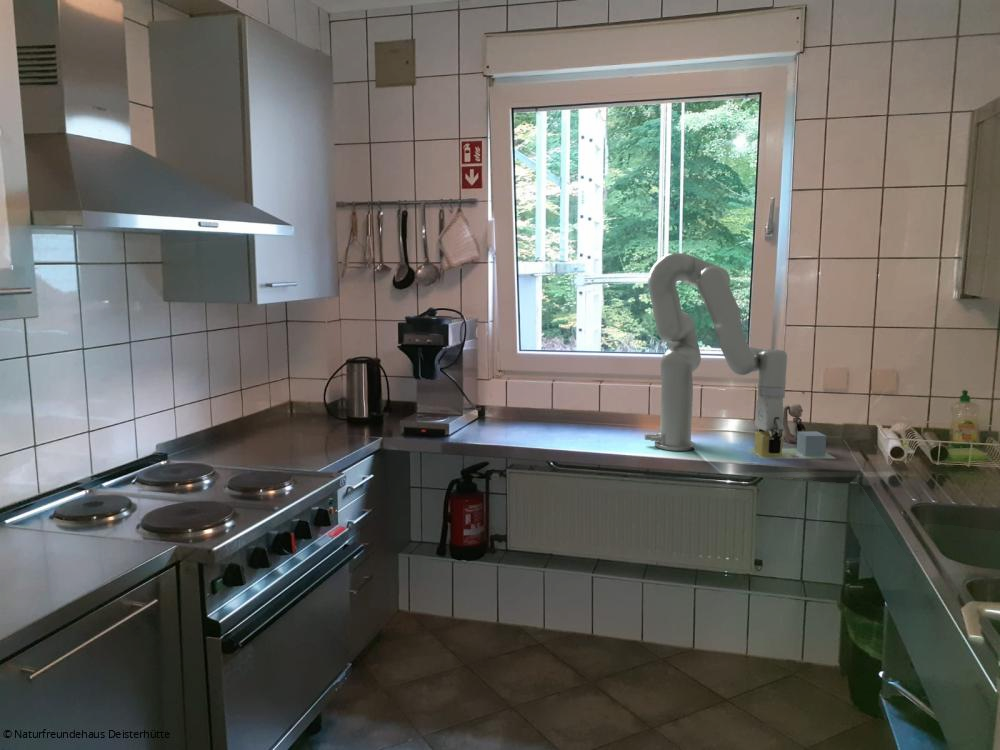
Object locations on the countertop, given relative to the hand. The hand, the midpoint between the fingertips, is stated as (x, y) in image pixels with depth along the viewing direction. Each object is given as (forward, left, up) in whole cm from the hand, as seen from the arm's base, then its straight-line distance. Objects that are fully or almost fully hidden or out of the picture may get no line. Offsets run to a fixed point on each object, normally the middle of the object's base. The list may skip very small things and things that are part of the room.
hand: (767, 449), depth 230 cm
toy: (+15, +17, -3) cm, 23 cm away
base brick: (+13, 0, -1) cm, 13 cm away
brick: (0, 0, -1) cm, 1 cm away
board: (+7, 0, -3) cm, 7 cm away
